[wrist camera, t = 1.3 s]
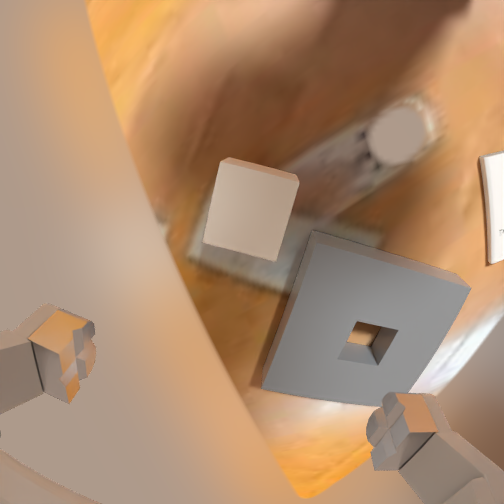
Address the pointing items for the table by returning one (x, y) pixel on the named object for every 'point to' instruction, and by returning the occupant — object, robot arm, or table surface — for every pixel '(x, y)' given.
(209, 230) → the cream white block
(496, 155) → the external hard drive
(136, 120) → the table surface
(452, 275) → the socket
